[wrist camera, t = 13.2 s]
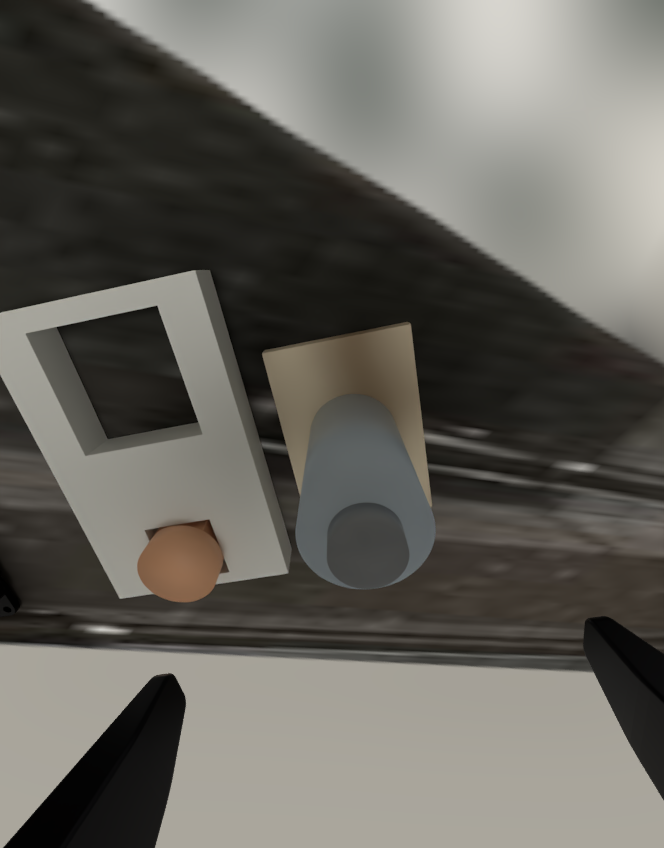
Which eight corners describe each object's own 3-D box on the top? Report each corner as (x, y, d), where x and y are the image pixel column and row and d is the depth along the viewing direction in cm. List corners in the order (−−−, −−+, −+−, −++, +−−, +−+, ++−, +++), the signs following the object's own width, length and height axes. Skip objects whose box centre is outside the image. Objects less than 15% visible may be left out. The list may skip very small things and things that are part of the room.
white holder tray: (136, 573, 24) (120, 598, 22) (7, 314, 18) (-30, 319, 16) (291, 549, 23) (288, 573, 21) (209, 270, 17) (195, 270, 16)
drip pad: (308, 518, 22) (308, 526, 22) (264, 350, 19) (262, 353, 18) (428, 498, 22) (432, 506, 21) (407, 321, 18) (410, 324, 17)
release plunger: (175, 566, 23) (154, 607, 20) (151, 511, 22) (124, 547, 19) (239, 556, 23) (226, 596, 20) (219, 500, 21) (202, 534, 19)
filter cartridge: (319, 479, 20) (309, 622, 12) (301, 402, 19) (276, 505, 11) (401, 466, 20) (450, 603, 12) (390, 386, 19) (437, 479, 10)
